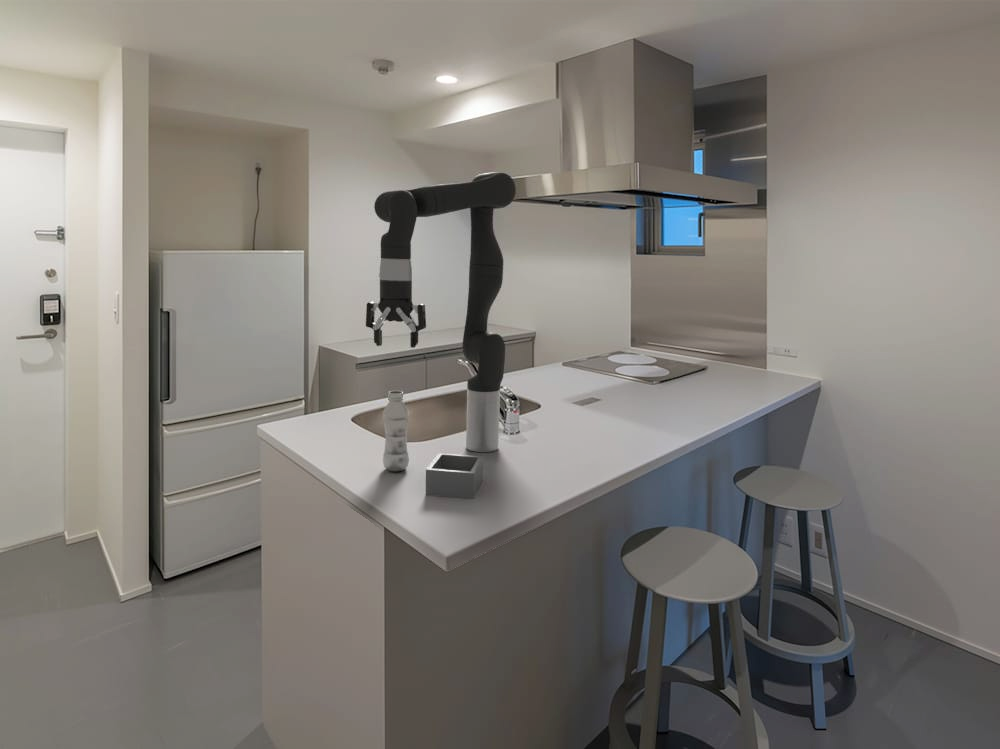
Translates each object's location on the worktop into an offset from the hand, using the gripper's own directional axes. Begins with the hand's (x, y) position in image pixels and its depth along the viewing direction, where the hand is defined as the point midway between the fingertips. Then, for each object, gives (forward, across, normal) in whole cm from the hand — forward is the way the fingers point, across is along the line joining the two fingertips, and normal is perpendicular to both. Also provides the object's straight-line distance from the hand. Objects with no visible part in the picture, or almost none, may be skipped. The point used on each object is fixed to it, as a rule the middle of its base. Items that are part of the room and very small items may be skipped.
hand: (396, 346), depth 143 cm
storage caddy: (+31, -17, +8) cm, 37 cm away
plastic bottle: (+32, 0, 0) cm, 32 cm away
